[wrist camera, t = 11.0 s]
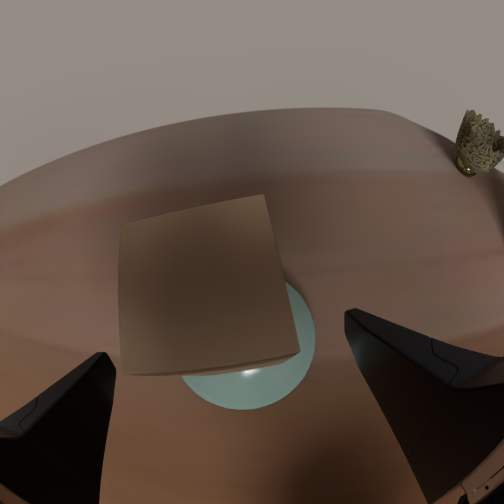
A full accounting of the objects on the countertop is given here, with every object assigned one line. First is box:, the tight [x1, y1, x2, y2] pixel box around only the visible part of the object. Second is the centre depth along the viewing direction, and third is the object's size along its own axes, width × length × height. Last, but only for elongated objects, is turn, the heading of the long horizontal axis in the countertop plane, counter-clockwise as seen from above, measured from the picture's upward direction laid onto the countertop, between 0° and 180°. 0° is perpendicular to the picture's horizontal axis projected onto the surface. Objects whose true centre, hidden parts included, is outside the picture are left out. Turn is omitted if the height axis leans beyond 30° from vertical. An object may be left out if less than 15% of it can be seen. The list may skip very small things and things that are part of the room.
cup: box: [456, 110, 504, 177], centre depth 23 cm, size 8×7×8 cm
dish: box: [181, 282, 316, 410], centre depth 20 cm, size 11×11×1 cm
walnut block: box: [118, 194, 301, 376], centre depth 13 cm, size 5×5×13 cm
